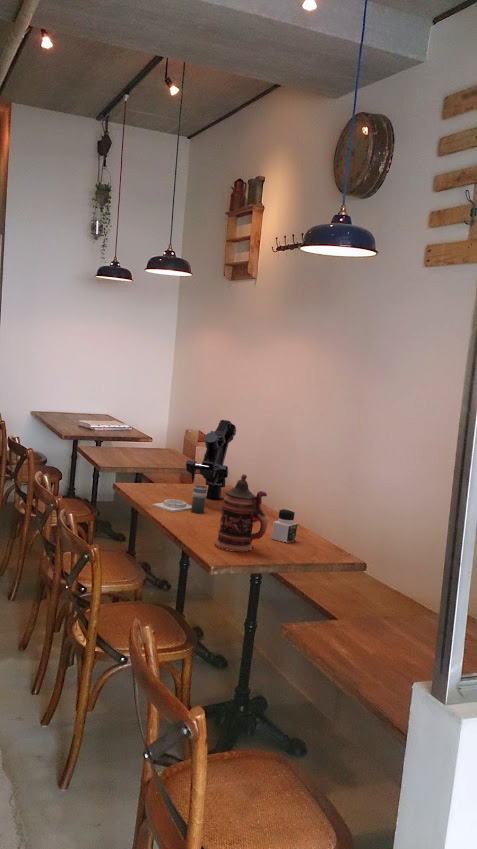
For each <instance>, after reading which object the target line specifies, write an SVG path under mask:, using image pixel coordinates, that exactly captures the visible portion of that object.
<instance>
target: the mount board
mask: <svg viewBox="0 0 477 849" xmlns="http://www.w3.org/2000/svg"><path fill="white" fill-rule="evenodd" d="M151 506H152V507H155V508H157V509H160V510H163V511H166V512H169V513H175V512H184V511H191V508H192V504H189V503H187V502H186V501H183V500H180V499H173V498H172V499H165V500H163V502H159V503H152V504H151Z"/></svg>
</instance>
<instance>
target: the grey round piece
mask: <svg viewBox="0 0 477 849" xmlns="http://www.w3.org/2000/svg"><path fill="white" fill-rule="evenodd" d="M207 490H208V487H207V486H205V485H204V486H203V485H194V486H193V492H192V500H191V505H192V508H191V510H190V512H191V513H193V514H204V513H205V506H206V499H207V498H206V496H207Z"/></svg>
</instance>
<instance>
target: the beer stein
mask: <svg viewBox="0 0 477 849" xmlns="http://www.w3.org/2000/svg"><path fill="white" fill-rule="evenodd" d="M247 477H248V475H246V474H242V475H241V476H240V478H241V479H239V480H237V482H236V484H235V486H234V487H232V488H231V489H230V490H227V491H225V492H224V494H225V495H224V499H223V501H222V503H221V506H222V508H221V509H222V511H221V516H220V520H219V522H220V523H219V525H220V526H219V530H217V531H218V532H217V535H218V537H217V539H216V541H215V542H216V546H218V547H220V548H223V549H228V550H234V551H233V552H235V551H247V550H250V549H252V546H253V545H252V541H253V540H260V539H261V538H262V537H263V536H264V535H265V534H266V531H267V528H268V519H267V517H266V514H265V513H264V511H263V509H262V508H261V505H262V497H267V496H268V495H267V492H265V491H262V490H260V491H258V492H257V493H256V495H255V494H254V493H252V492H251V491H250V489H249V484H248V482H247ZM254 521H259V522H260V527H259V528H260V529H259V530H258V531H257V532H255V533H254V532H253V526H254ZM216 546H215V547H216ZM218 547H217V548H218ZM220 548H219V549H220ZM223 549H222V550H223ZM252 550H253V549H252ZM250 551H251V550H250Z"/></svg>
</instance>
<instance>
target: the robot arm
mask: <svg viewBox="0 0 477 849" xmlns="http://www.w3.org/2000/svg"><path fill="white" fill-rule="evenodd" d="M236 434H237V428H236V425H235V424H233V423H232V422H231V421H230V420H228V419H227V420H226V419H220V420H219V423H218V426H217V427H216V429H215V430H210V432H207V433H206V434H205V435H204V445H205V448H206V449H205V453H204V455H203V456H204V457H203V458H202V461H201V464H198V463H197V460H190V459H188V460H187V461H186V462H185V466H186V471H187V472H188V473H189V474H191V483H192V484H193V483H194V482H195V479H196V478H195V477H196V474H197V473H196V472H197V470H199V475H201V476H202V477H203V479H205V486H208V487H207V491H206V493H207V494H206V499H210V500H214V501H215V500H217V501H218V500H222V499H223V497H221V495H222V488H226V478H228V477H229V467H228V466H227V465H224V464H225V459H226V456H227V452H228V448H229V443H231V442H232V441H233V440H234V438H235V436H236ZM223 500H224V499H223Z"/></svg>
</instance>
